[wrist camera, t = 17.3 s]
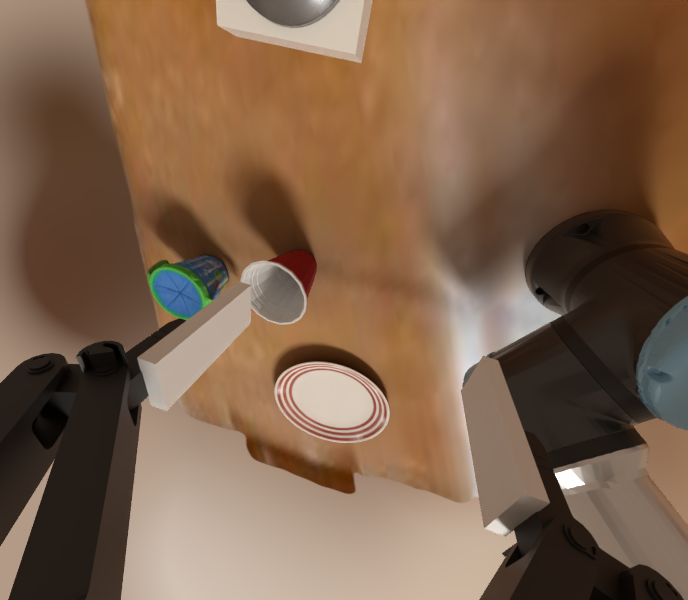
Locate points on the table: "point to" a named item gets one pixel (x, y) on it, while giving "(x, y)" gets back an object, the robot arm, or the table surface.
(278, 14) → the scale pan
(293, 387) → the dinner plate
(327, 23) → the scale
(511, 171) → the table surface
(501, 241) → the table surface
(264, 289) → the plastic cup
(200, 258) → the snack cup
